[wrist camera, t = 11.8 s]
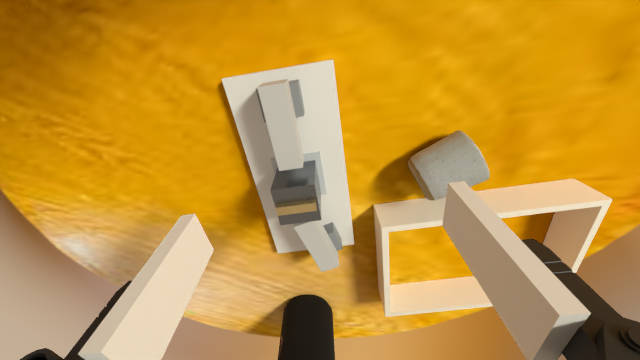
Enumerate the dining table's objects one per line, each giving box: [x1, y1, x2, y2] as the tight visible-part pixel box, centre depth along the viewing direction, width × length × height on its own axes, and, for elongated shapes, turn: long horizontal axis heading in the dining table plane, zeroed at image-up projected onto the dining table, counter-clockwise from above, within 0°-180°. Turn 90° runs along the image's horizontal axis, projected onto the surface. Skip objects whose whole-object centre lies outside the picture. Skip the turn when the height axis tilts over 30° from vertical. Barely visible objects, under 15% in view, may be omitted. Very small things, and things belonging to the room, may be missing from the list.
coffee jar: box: [278, 295, 335, 360], centre depth 47 cm, size 11×11×18 cm
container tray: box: [374, 179, 613, 317], centre depth 43 cm, size 22×32×6 cm
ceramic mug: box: [407, 131, 489, 201], centre depth 35 cm, size 11×8×8 cm
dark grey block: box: [270, 160, 321, 225], centre depth 34 cm, size 6×6×8 cm
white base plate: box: [221, 59, 355, 272], centre depth 36 cm, size 30×14×7 cm, turn 9°
